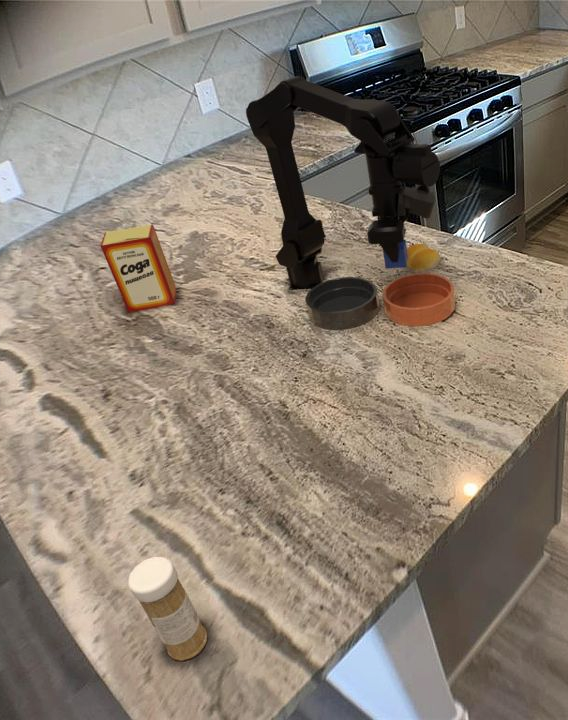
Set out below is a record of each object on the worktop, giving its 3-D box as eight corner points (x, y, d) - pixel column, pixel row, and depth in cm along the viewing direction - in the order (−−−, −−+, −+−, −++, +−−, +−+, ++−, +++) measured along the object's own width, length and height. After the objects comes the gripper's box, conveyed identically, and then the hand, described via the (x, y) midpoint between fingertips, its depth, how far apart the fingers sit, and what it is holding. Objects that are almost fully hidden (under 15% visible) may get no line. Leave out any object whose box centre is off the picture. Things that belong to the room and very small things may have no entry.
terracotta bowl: (382, 330, 129) (379, 310, 126) (389, 293, 141) (386, 274, 138) (454, 327, 129) (453, 307, 126) (455, 290, 140) (454, 271, 137)
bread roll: (420, 276, 146) (418, 260, 143) (396, 263, 151) (394, 247, 149) (449, 263, 150) (447, 247, 148) (424, 251, 156) (423, 235, 153)
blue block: (385, 268, 127) (382, 249, 124) (387, 259, 130) (385, 240, 128) (406, 267, 127) (403, 248, 124) (408, 258, 130) (405, 239, 127)
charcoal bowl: (303, 334, 130) (298, 314, 127) (316, 297, 141) (312, 278, 139) (375, 330, 129) (372, 311, 126) (383, 293, 141) (380, 275, 138)
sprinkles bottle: (172, 630, 79) (132, 559, 71) (211, 622, 79) (175, 551, 71) (164, 666, 75) (122, 595, 67) (206, 658, 76) (168, 587, 68)
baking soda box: (128, 312, 141) (99, 243, 131) (131, 297, 146) (104, 230, 136) (175, 303, 142) (149, 235, 133) (176, 289, 148) (152, 222, 138)
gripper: (427, 195, 110) (435, 278, 119) (432, 157, 126) (439, 233, 135) (360, 199, 111) (374, 281, 120) (374, 161, 126) (385, 236, 135)
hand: (396, 256), depth 127 cm, fingers closed on blue block, 4 cm apart
